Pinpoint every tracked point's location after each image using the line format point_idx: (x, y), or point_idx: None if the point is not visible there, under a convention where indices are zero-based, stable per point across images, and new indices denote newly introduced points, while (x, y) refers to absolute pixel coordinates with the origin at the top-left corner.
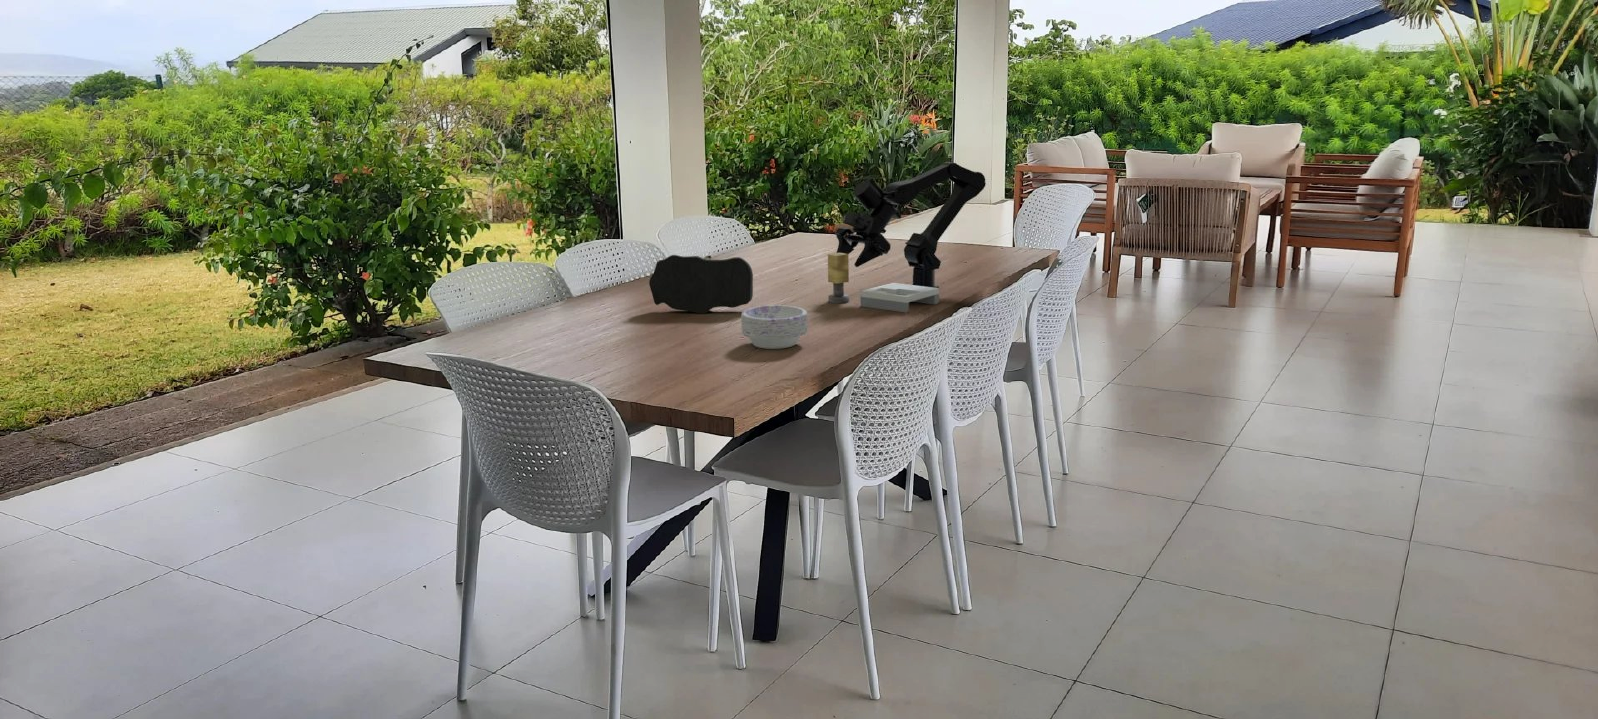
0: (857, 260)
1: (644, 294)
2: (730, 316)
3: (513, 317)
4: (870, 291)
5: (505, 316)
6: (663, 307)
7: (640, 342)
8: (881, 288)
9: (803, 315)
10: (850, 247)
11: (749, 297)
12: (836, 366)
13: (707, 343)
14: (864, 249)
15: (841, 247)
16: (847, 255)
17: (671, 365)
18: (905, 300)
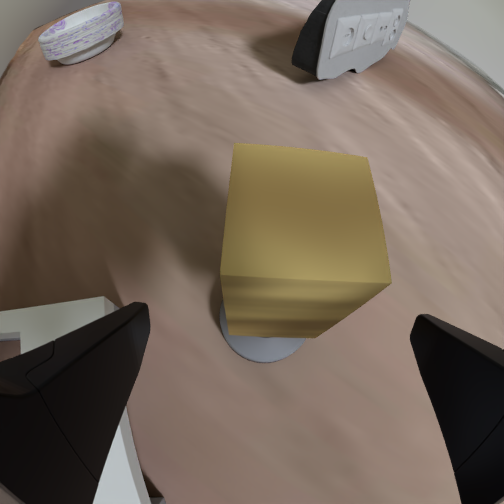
0: (113, 314)
1: (499, 118)
2: (285, 62)
3: None
4: (66, 318)
5: (411, 25)
6: (409, 69)
7: (225, 3)
8: None
9: (39, 37)
10: (488, 491)
11: (293, 55)
12: (3, 78)
13: (162, 20)
14: (22, 372)
15: (502, 378)
16: (221, 265)
17: (132, 7)
18: None
